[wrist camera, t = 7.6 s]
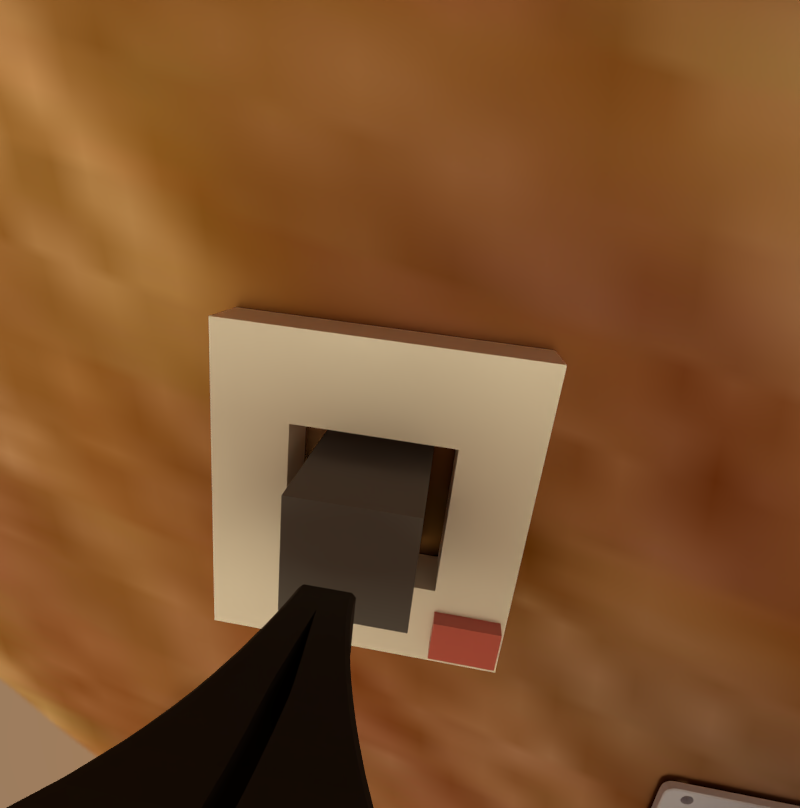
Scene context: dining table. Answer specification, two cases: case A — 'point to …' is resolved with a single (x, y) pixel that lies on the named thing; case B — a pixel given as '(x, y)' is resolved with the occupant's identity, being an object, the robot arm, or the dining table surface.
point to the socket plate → (392, 419)
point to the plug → (357, 524)
